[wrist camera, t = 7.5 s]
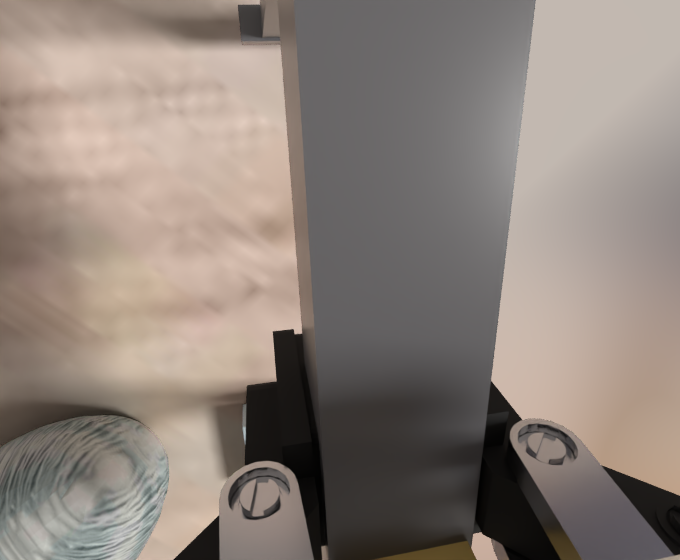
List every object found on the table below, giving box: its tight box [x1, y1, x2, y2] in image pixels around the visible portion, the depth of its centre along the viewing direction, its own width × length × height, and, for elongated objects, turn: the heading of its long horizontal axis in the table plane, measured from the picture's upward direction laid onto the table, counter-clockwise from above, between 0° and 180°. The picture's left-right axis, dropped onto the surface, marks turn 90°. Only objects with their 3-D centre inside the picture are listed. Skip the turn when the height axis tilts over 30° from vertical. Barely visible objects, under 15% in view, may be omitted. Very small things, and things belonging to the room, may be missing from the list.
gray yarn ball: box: [0, 415, 169, 560], centre depth 23 cm, size 14×10×10 cm
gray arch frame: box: [238, 0, 536, 560], centre depth 14 cm, size 21×4×15 cm, turn 2°
